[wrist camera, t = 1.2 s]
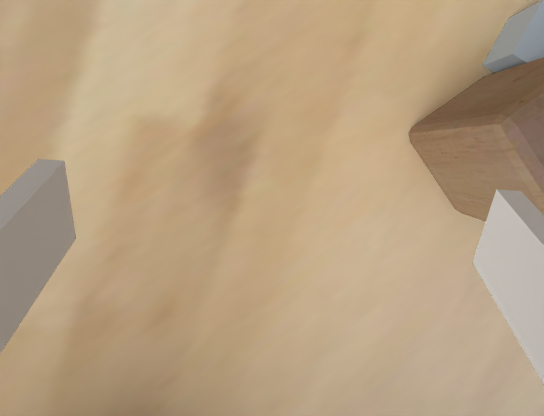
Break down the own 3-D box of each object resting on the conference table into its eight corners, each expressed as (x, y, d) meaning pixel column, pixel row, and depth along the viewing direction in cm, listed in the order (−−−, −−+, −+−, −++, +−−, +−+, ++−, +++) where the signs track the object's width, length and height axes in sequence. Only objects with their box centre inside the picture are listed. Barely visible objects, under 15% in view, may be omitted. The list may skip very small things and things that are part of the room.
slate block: (553, 43, 47) (594, 28, 41) (525, 90, 48) (562, 82, 42) (508, 18, 47) (543, -1, 41) (481, 65, 48) (512, 53, 42)
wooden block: (488, 72, 48) (644, 18, 28) (542, 157, 49) (730, 164, 29) (401, 133, 48) (493, 122, 28) (456, 215, 49) (583, 261, 29)
